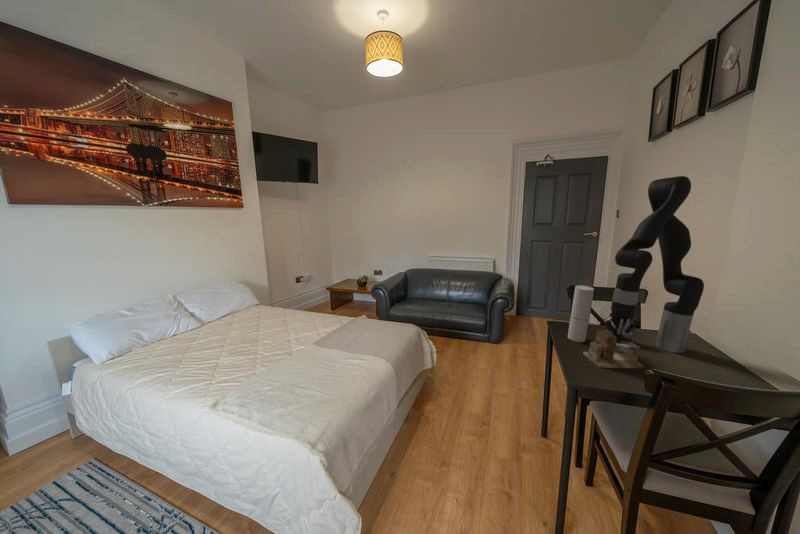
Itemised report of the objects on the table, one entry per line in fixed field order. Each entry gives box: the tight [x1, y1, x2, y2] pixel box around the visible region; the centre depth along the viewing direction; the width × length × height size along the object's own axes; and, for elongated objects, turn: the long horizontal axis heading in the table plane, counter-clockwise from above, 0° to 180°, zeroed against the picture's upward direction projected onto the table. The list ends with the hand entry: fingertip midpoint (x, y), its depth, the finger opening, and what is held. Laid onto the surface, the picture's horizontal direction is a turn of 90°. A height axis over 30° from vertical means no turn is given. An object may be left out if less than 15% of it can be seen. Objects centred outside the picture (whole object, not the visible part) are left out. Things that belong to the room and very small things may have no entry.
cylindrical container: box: [567, 285, 595, 343], centre depth 129 cm, size 7×7×25 cm
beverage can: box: [621, 327, 634, 344], centre depth 128 cm, size 6×7×12 cm
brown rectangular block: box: [594, 329, 617, 359], centre depth 112 cm, size 4×6×10 cm, turn 179°
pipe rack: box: [582, 341, 645, 369], centre depth 113 cm, size 17×10×7 cm, turn 89°
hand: (616, 341), depth 111 cm, fingers closed
